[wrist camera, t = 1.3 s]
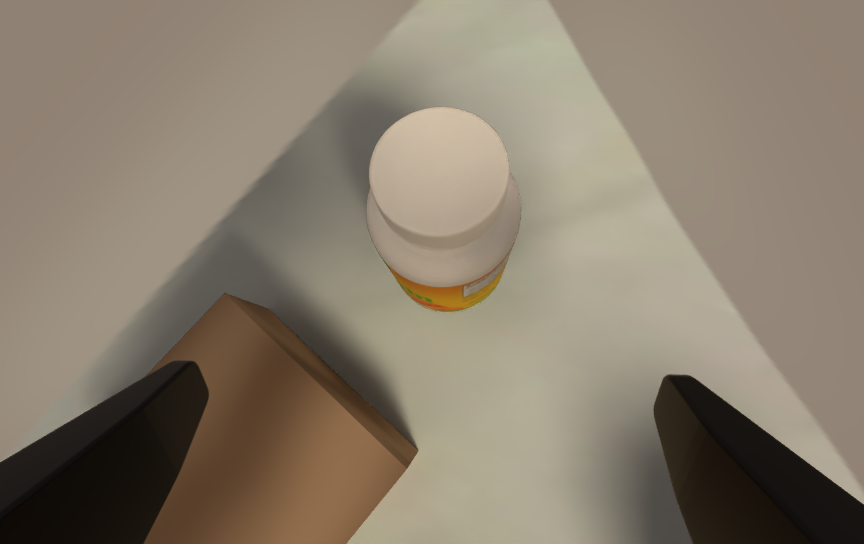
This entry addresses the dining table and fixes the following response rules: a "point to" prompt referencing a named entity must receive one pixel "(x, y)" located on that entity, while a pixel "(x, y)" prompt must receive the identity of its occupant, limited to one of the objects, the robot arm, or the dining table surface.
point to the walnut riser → (274, 440)
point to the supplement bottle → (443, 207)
